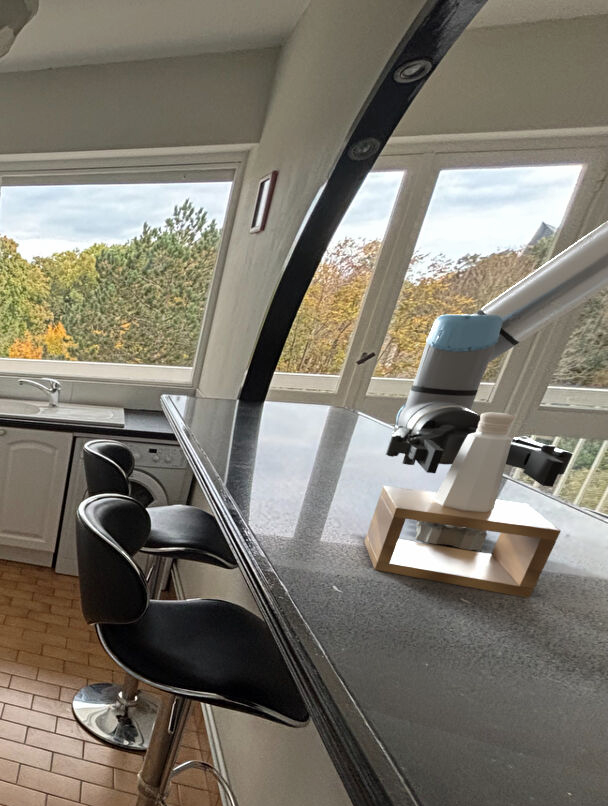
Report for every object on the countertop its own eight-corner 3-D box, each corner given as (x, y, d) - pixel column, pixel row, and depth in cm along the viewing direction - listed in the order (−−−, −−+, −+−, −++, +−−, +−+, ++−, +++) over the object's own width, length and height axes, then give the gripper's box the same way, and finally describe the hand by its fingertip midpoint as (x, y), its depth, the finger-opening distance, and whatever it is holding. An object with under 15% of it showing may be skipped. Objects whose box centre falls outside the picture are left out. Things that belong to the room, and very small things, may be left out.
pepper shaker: (421, 499, 73) (453, 410, 69) (459, 498, 74) (494, 409, 70) (465, 513, 68) (503, 418, 64) (506, 512, 69) (546, 417, 65)
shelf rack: (500, 564, 75) (527, 503, 72) (529, 598, 66) (561, 530, 63) (364, 542, 82) (383, 485, 79) (374, 570, 73) (396, 507, 70)
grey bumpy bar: (415, 522, 90) (424, 496, 88) (482, 535, 85) (493, 508, 83) (409, 540, 83) (419, 512, 81) (482, 555, 78) (494, 526, 76)
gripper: (541, 470, 79) (618, 517, 61) (343, 449, 90) (360, 484, 72) (565, 414, 76) (653, 446, 59) (359, 399, 87) (380, 423, 69)
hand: (492, 467), depth 65 cm, fingers open, 9 cm apart
